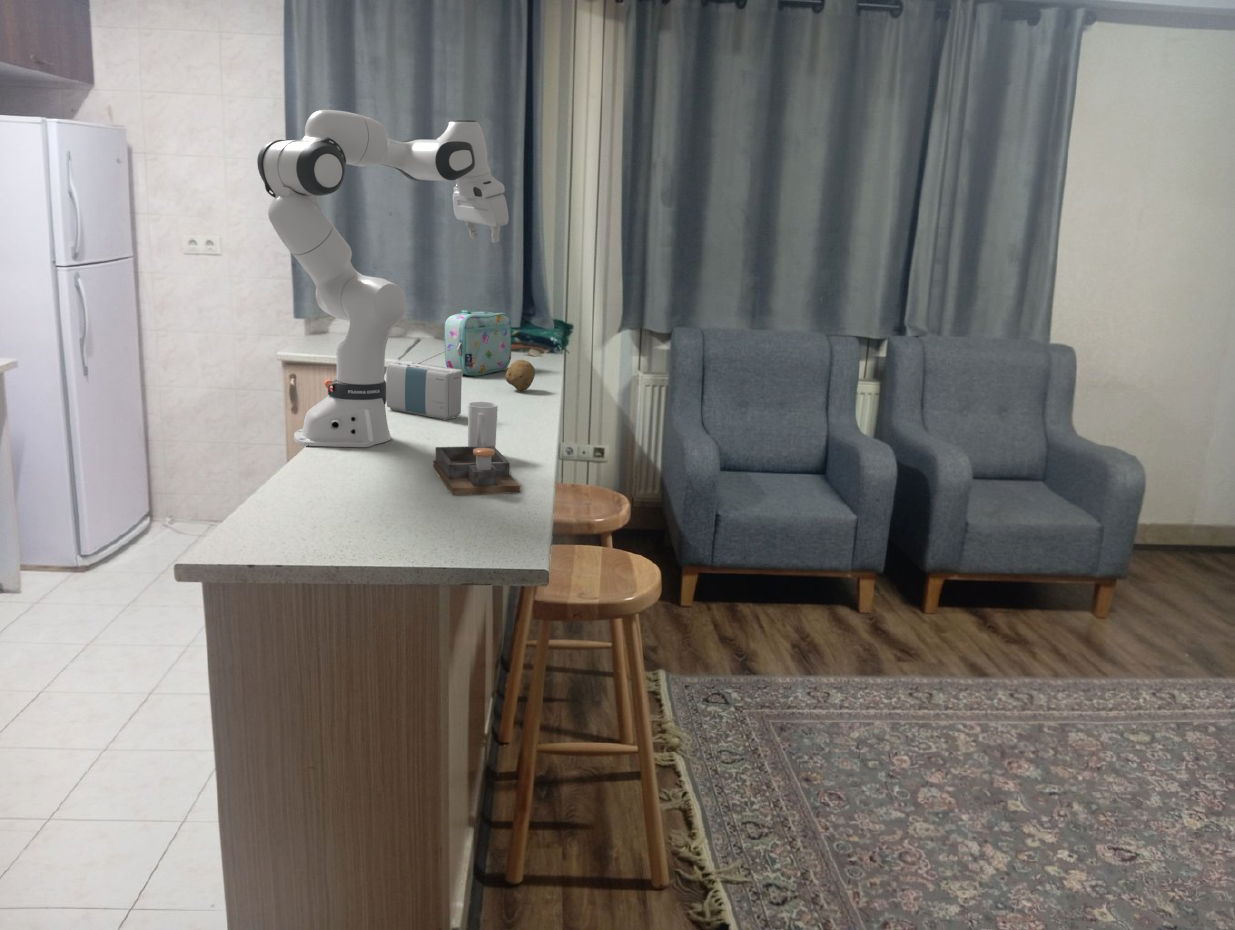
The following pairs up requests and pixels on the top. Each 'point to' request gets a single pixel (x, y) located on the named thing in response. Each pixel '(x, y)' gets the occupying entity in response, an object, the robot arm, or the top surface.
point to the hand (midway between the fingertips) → (485, 239)
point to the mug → (482, 424)
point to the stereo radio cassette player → (424, 388)
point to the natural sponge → (520, 375)
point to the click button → (483, 458)
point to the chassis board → (473, 472)
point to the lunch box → (478, 342)
